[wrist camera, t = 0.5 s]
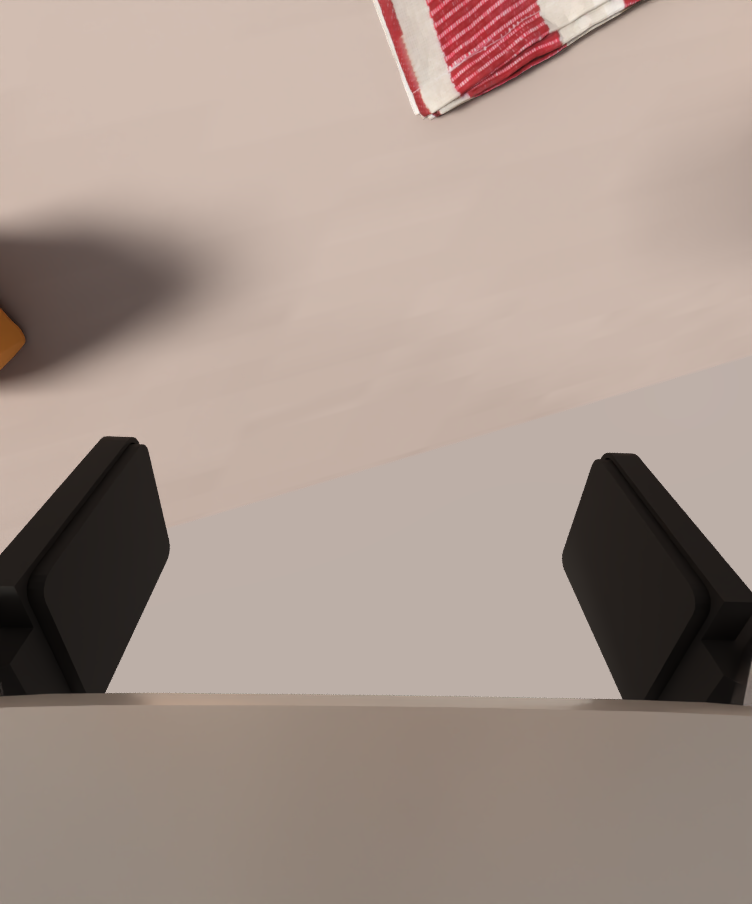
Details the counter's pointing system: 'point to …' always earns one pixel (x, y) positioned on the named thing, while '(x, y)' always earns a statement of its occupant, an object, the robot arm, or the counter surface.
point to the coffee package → (9, 339)
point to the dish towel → (480, 42)
